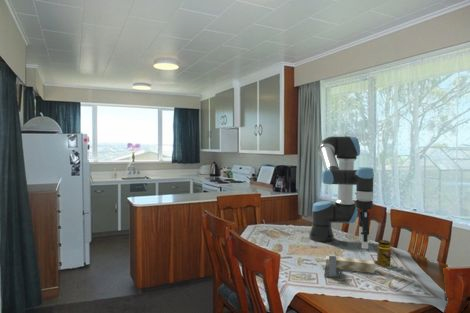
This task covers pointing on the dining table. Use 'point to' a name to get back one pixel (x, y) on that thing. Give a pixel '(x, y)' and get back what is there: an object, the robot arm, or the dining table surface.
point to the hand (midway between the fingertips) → (363, 244)
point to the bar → (353, 264)
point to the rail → (332, 269)
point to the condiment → (383, 254)
